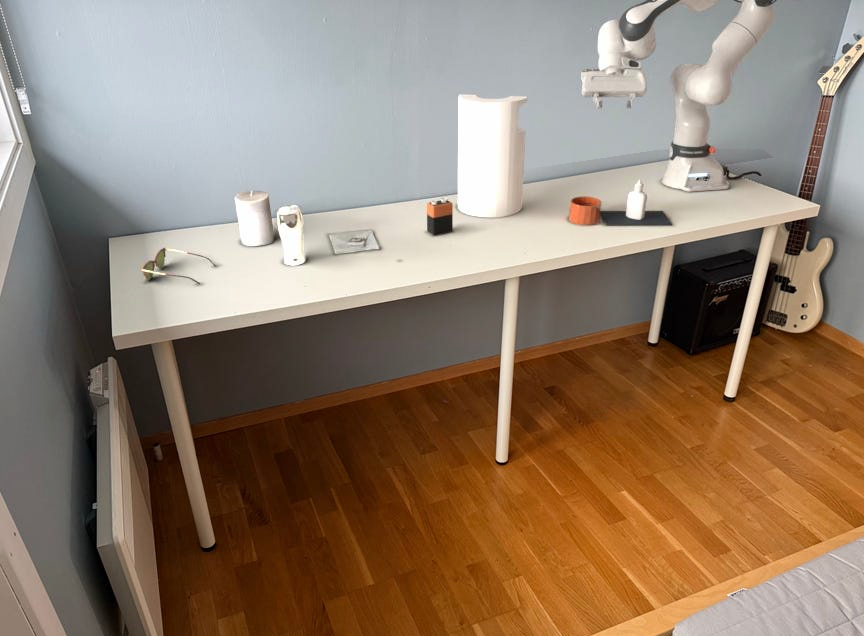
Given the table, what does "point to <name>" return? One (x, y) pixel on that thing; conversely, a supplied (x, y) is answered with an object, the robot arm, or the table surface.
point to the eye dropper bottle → (636, 202)
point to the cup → (585, 210)
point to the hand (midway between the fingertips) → (614, 107)
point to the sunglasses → (162, 264)
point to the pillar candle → (254, 218)
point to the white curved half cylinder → (490, 156)
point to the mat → (622, 220)
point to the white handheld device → (291, 233)
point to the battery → (439, 217)
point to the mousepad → (353, 241)
